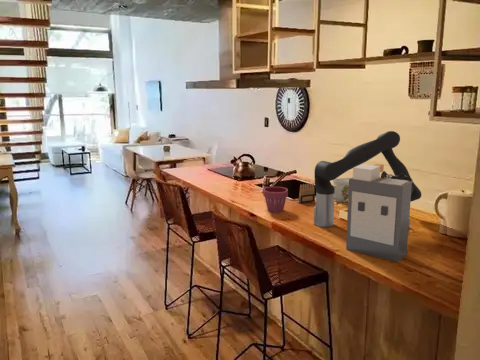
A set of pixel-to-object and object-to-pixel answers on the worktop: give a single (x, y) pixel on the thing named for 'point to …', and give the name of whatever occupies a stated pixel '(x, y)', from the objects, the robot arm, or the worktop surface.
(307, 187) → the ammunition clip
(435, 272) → the worktop surface
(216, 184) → the worktop surface
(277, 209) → the plant pot
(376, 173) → the block
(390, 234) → the box
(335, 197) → the pitcher
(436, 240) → the worktop surface
